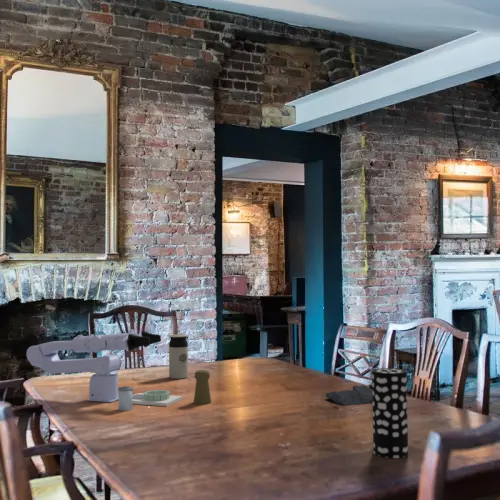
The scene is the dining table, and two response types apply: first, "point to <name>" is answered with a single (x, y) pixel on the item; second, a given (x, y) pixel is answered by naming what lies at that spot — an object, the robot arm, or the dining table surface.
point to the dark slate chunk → (352, 396)
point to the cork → (202, 387)
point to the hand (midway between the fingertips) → (155, 339)
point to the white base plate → (155, 398)
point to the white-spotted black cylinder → (390, 412)
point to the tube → (125, 398)
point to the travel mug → (178, 356)
